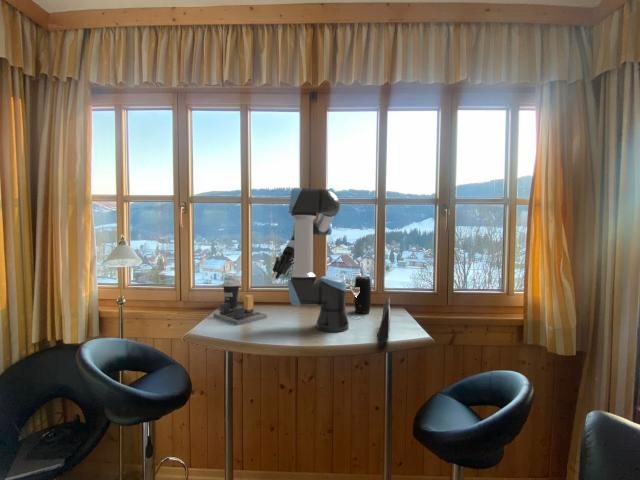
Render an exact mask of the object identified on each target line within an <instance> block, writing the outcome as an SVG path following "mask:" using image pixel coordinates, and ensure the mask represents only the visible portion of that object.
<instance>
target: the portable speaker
mask: <svg viewBox="0 0 640 480" xmlns="http://www.w3.org/2000/svg"><path fill="white" fill-rule="evenodd" d="M371 286H372V285H371V277H370V276H360V275H358V276H355V281H354V288H355V287H360V293H359V295H358V296H357V298H356V297H355V295H354V300H353V303H354V312H356V313H355V314H359V313H360V314H362V315H367V313H368V314H369V313H370V311H371V310H370V309H371V301H372V299H371V298H372V287H371Z"/></svg>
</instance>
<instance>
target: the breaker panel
mask: <svg viewBox="0 0 640 480" xmlns="http://www.w3.org/2000/svg"><path fill="white" fill-rule="evenodd" d="M267 316H268V315H267V313H265V312H262V311H261V312H260V311H257V310H254V309H253V311H252V312H245V311H244V306H240V305H239V306H237V307H234V309H230V303H227V302H225V301H224V302H221V303H219V311H218V312H214V313H213V318H215V319H218V320H220V321H223V322H226V323H229V324H232V325H234V326H240V325H244V324H248V323H252V322H256V321H260V320H263V319H267Z"/></svg>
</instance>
